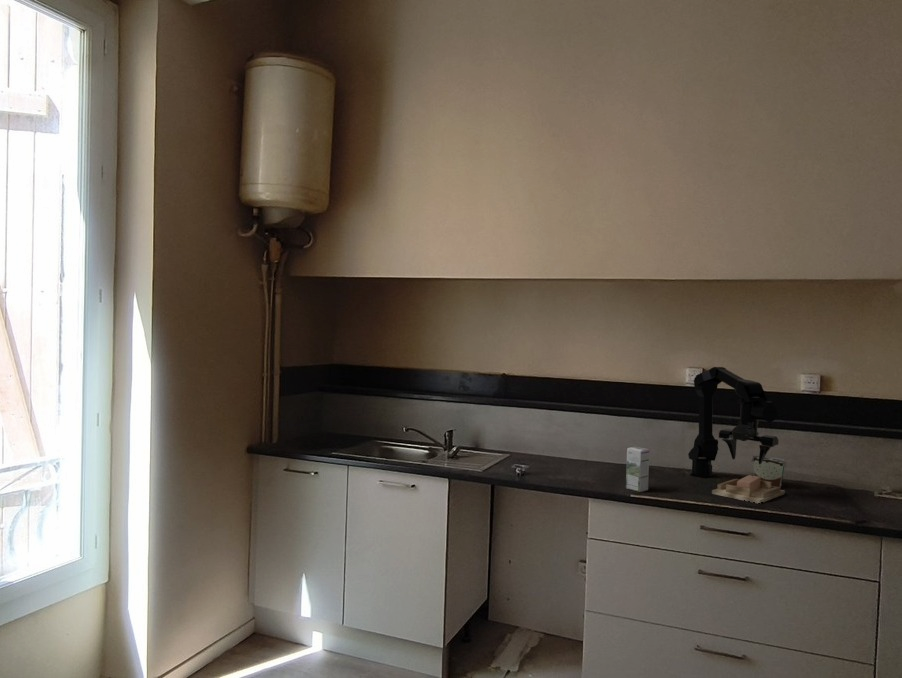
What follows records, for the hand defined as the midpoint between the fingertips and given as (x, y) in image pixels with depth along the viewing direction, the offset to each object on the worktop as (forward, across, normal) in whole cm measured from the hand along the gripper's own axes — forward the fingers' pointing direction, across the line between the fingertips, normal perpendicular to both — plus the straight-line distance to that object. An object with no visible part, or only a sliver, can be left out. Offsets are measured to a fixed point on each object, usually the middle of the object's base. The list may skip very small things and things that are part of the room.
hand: (746, 461), depth 230 cm
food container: (+11, +1, +20) cm, 23 cm away
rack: (+11, +2, -2) cm, 11 cm away
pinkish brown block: (+10, +2, -2) cm, 10 cm away
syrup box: (+11, -25, -30) cm, 40 cm away
